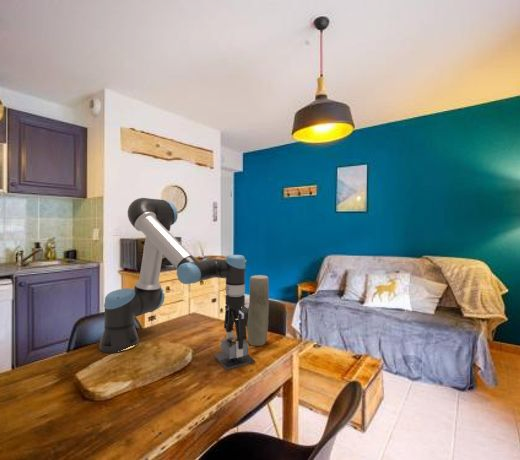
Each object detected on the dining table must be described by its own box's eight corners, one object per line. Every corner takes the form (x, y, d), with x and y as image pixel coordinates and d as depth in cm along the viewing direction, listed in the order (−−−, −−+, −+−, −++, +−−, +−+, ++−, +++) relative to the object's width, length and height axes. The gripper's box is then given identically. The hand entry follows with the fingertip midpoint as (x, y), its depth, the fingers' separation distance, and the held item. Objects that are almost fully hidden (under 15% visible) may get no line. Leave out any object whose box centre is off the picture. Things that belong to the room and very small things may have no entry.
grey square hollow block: (221, 350, 112) (221, 339, 112) (239, 346, 116) (239, 335, 116) (229, 359, 105) (229, 347, 105) (248, 354, 109) (248, 342, 109)
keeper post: (214, 356, 113) (214, 336, 113) (240, 350, 119) (241, 331, 119) (226, 370, 102) (226, 348, 102) (254, 362, 109) (255, 341, 108)
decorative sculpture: (235, 343, 126) (236, 276, 125) (244, 335, 135) (245, 273, 134) (263, 348, 121) (264, 279, 120) (271, 340, 130) (272, 275, 129)
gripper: (216, 290, 117) (215, 344, 118) (238, 302, 99) (237, 365, 100) (232, 288, 121) (231, 340, 121) (256, 299, 103) (255, 360, 104)
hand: (234, 352), depth 111 cm, fingers closed on grey square hollow block, 8 cm apart
